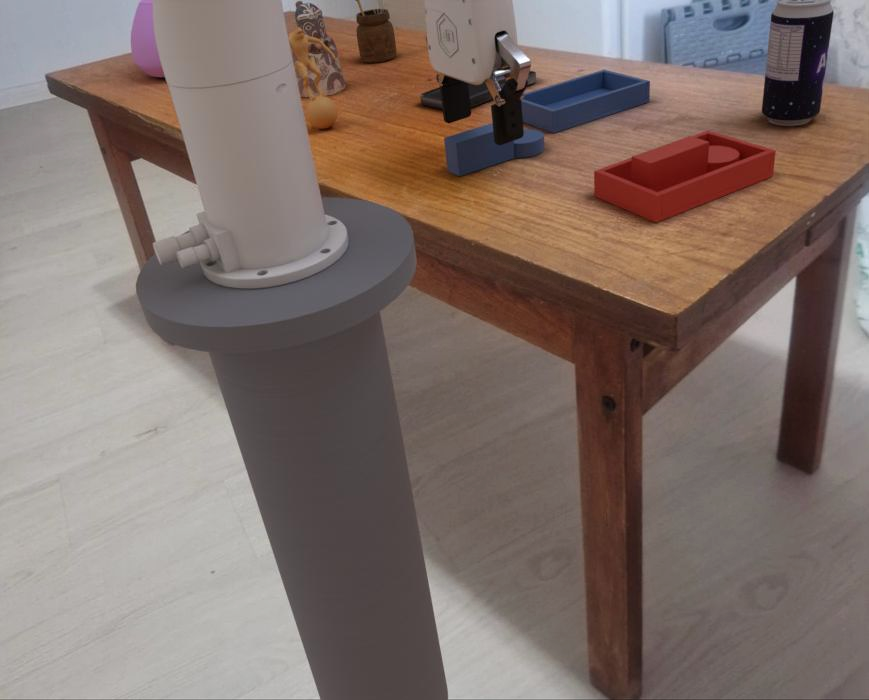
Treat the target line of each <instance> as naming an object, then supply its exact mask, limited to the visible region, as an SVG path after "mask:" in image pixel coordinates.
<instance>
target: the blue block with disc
mask: <svg viewBox="0 0 869 700" xmlns="http://www.w3.org/2000/svg"><path fill="white" fill-rule="evenodd" d="M443 141H444V149H445V159H446V169H447V171H448V172H450V173H451V174H453V175H455V176H457V177H459V178H460V177H464V176H465V175H469V174H471V173H475V172H477V171H481V170H483V169H486V168H490V167H492V166H493V167H494V166H495V165H498V164H502V163H504V162H508V161H511V160H513V159H515V158H516V159H517V158H518V159H521V158H522V159H523V158H530V157H535V156H537V155H540V154H542V153H543V152H544V150H545V134H544V132H542V130H541V131H540V130H538V129H529V128H528V129H527V128H526V129H525V128H524V135H523V137H522V138H520V139H517V140H514V141H511V142H509V143H506V144H503V145H497V144H495V142H494V133H493V122H490V123H488V124H484V125H482V126H478V127H474V128H472V129H468V130H465V131H462V132H458V133H455V134H452V135H449V136H445V137H443Z"/></svg>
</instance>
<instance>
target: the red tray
mask: <svg viewBox="0 0 869 700" xmlns="http://www.w3.org/2000/svg"><path fill="white" fill-rule="evenodd" d="M691 136H692V137H695V138H698V139H701V140H705V141H708V142H709V146H726V147H730V148H733V149H736V150H737V151H738V152H739V154H740V155H739V161H738V162H735V163H733V164H730V165H727V166H725V167H722V168H720V169H717V170H714V171H712V172H709V173H706V174H704V175H701V176H699V177H696V178H693V179H691V180H688V181H685V182H683V183H680V184H678V185H675V186H672V187H670V188H667V189H664V190H662V191H659V192H656V191H653V190H651V189H648V188H645V187H643V186H640V185H638V184H635V183H633V182H631V167H632V157H629V158H626V159H624V160H620V161H618V162H616V163H612V164H610V165H606V166H604V167H601V168H599V169H596V170H593V181H594V182H593V191H594V194H593V195H594V197H596V198H598V199H599V200H603V201H605V202H607V203H609V204H612V205H614V206H617V207H618V208H621V209H623V210H625V211H628V212H630V213H633V214H634V215H637V216H639V217H642V218H644V219H646V220H649V221H650V222H653V223H659V222H662V221H664V220H666V219H669V218H672V217H675V216H677V215H679V214H682V213H684V212H687V211H689V210H691V209H694V208H697V207H700V206H701V205H704V204H706V203H709V202H712V201H714V200H717V199H719V198H722V197H724V196H727V195H729V194H731V193H734V192H737V191H739V190H742V189H744V188H747V187H749V186H751V185H754V184H757V183H759V182H762V181H765V180H767V179H770V178H772V177H773V176H774V170H775V161H776V152H777V150H776V149H773V148H769V147H765V146H762V145H760V144H755V143H753V142H748V141H747V140H746V141H745V140H742V139H738V138H735V137H733V136H732V137H731V136H728V135H725V134H721V133H719V132H715V131H712V130H705V131H702V132H699V133H697V134H694V135H691Z"/></svg>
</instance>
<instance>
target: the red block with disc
mask: <svg viewBox="0 0 869 700" xmlns="http://www.w3.org/2000/svg"><path fill="white" fill-rule="evenodd" d="M692 136H693V135H688V136H686V137H683V138H680V139H678V140H675V141H672V142H669V143H667V144H663V145H661V146H657V147H654V148H651V149H649V150H646V151H644V152H641V153H637V154H634V155H632V156H631V158H632V167H631V182H633V183H635V184H638V185H640V186H643V187H645V188H648V189H651V190H653V191H656V192H659V191H662V190H664V189H667V188H670V187H672V186H675V185H678V184H680V183H683V182H685V181H688V180H691V179H693V178H696V177H699V176H701V175H704V174H706V173H709V172H712V171H714V170H717V169H720V168H722V167H725V166H727V165H730V164H733V163H735V162H738V161H739V155H740V154H739V152H738V151H737V150H736V149H733V148H730V147H726V146H709V142H708V141H705V140H701V139H698V138H695V137H692Z"/></svg>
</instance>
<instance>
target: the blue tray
mask: <svg viewBox="0 0 869 700" xmlns="http://www.w3.org/2000/svg"><path fill="white" fill-rule="evenodd" d="M650 92H651V81H650V80H648V79H644V78H640V77H636V76H632V75H628V74H623V73H620V72H616V71H613V70H612V71H611V70H609V69H602V70H598V71H594V72H591V73H588V74H585V75H581V76H579V77H574V78H571V79H568V80H564V81H562V82H558V83H555V84H551V85H548V86H544V87H541V88H538V89H535V90H532V91H528V92H524V98H523V99H521V103H522V116H523V124H527V125H530V126H532V127H535V128H538V129H541V130H543V131H546V132H548V133H552V134H555V133H559V132H562V131H565V130H567V129H571V128H574V127H577V126H580V125H583V124H586V123H589V122H592V121H596V120H598V119H602V118H604V117H607V116H611V115H614V114H617V113H620V112H623V111H626V110H630V109H632V108H635V107H638V106H641V105H644V104H649V103H650V101H651V100H650V97H651V96H650V94H651V93H650Z"/></svg>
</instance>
